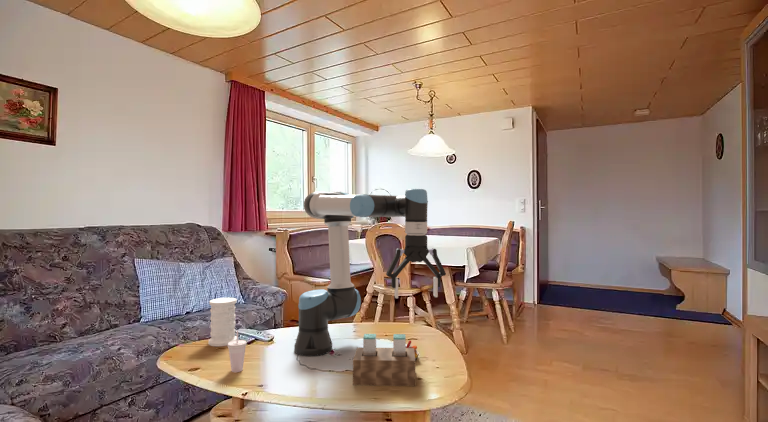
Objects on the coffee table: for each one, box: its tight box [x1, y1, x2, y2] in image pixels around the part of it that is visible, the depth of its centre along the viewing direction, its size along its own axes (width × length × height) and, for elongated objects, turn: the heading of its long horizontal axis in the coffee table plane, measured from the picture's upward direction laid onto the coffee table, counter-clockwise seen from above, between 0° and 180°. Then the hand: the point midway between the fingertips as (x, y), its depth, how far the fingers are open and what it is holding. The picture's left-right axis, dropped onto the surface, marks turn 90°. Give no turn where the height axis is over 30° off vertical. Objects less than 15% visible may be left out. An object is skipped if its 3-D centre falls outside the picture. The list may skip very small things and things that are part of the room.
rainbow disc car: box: [406, 340, 419, 359], centre depth 149 cm, size 8×10×7 cm
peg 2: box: [392, 333, 407, 357], centre depth 131 cm, size 4×4×8 cm
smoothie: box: [227, 330, 248, 373], centre depth 138 cm, size 6×6×14 cm
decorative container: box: [208, 297, 237, 347], centre depth 169 cm, size 12×12×18 cm
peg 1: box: [362, 333, 377, 356], centre depth 132 cm, size 4×4×8 cm
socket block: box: [352, 347, 416, 387], centre depth 131 cm, size 20×12×8 cm, turn 88°
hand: (416, 297), depth 133 cm, fingers open, 13 cm apart
